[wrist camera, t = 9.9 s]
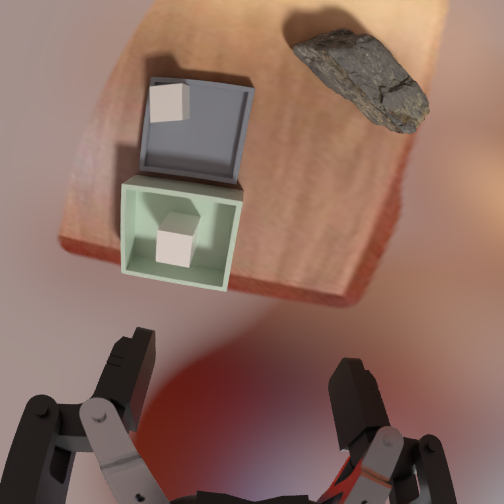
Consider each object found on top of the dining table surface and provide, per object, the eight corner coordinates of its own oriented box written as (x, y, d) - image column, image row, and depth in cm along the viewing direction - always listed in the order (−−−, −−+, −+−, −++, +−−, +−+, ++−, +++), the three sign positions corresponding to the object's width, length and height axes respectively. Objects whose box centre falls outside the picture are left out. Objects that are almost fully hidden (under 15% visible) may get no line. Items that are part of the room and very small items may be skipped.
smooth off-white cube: (160, 88, 30) (149, 86, 26) (189, 85, 30) (182, 83, 26) (161, 120, 31) (150, 122, 28) (189, 118, 31) (182, 120, 28)
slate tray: (154, 77, 29) (150, 76, 28) (254, 89, 31) (255, 88, 29) (142, 167, 35) (138, 170, 33) (236, 181, 36) (236, 184, 34)
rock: (445, 81, 25) (428, 149, 27) (413, 90, 31) (394, 151, 33) (323, -4, 21) (289, 61, 23) (304, 22, 27) (273, 82, 29)
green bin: (135, 174, 35) (121, 183, 31) (243, 190, 36) (242, 201, 32) (132, 256, 40) (121, 273, 36) (228, 273, 42) (226, 291, 38)
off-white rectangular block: (170, 211, 37) (157, 229, 31) (200, 216, 37) (192, 236, 32) (167, 239, 39) (155, 261, 33) (197, 244, 39) (189, 267, 34)
